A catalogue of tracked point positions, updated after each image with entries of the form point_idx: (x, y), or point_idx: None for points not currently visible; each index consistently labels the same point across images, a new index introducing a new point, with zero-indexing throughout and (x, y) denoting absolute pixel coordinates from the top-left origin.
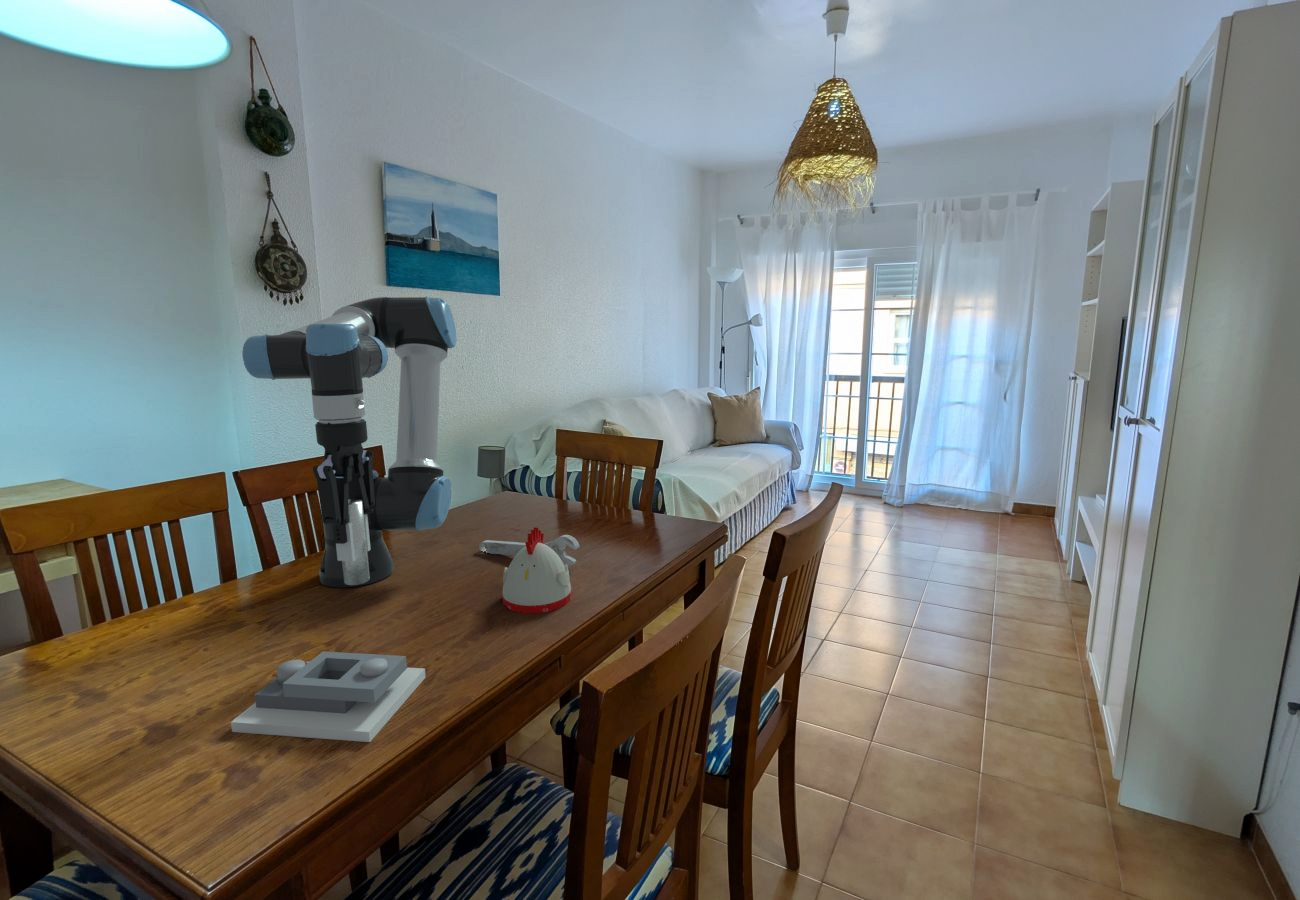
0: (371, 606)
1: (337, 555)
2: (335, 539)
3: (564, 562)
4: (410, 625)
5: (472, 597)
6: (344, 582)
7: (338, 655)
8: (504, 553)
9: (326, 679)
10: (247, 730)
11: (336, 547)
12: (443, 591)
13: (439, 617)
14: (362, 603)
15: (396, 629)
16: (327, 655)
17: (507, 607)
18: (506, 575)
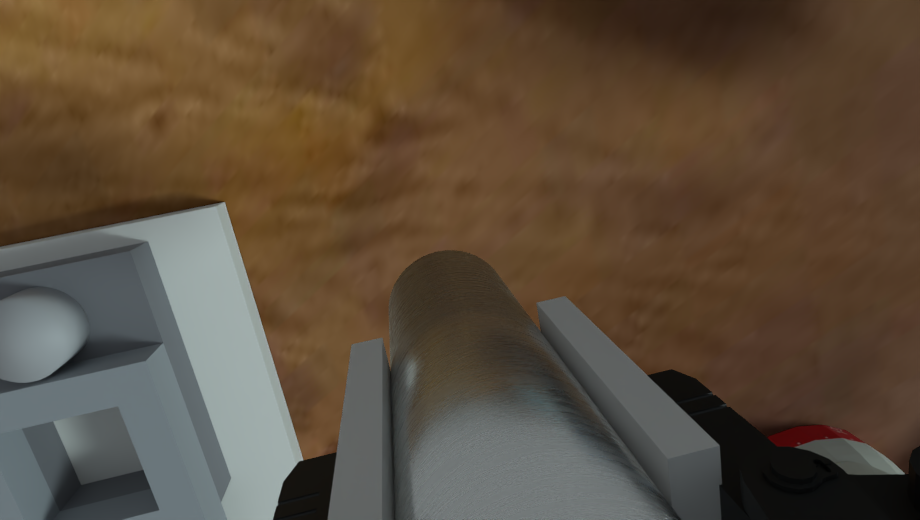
0: (658, 58)
1: (349, 364)
2: (283, 497)
3: None
4: (562, 292)
5: (774, 343)
6: (399, 278)
7: (148, 429)
8: None
9: (18, 509)
10: None
11: (347, 389)
12: (806, 226)
13: (630, 338)
14: (674, 3)
15: (528, 269)
16: (131, 398)
17: None
18: None
